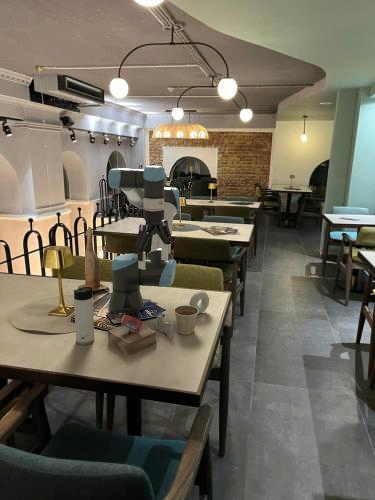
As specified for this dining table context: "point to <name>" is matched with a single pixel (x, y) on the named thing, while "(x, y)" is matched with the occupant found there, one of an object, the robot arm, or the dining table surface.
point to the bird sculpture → (92, 266)
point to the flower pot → (186, 318)
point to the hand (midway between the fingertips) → (153, 264)
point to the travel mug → (84, 315)
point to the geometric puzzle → (132, 323)
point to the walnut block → (131, 339)
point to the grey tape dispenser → (164, 326)
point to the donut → (204, 301)
